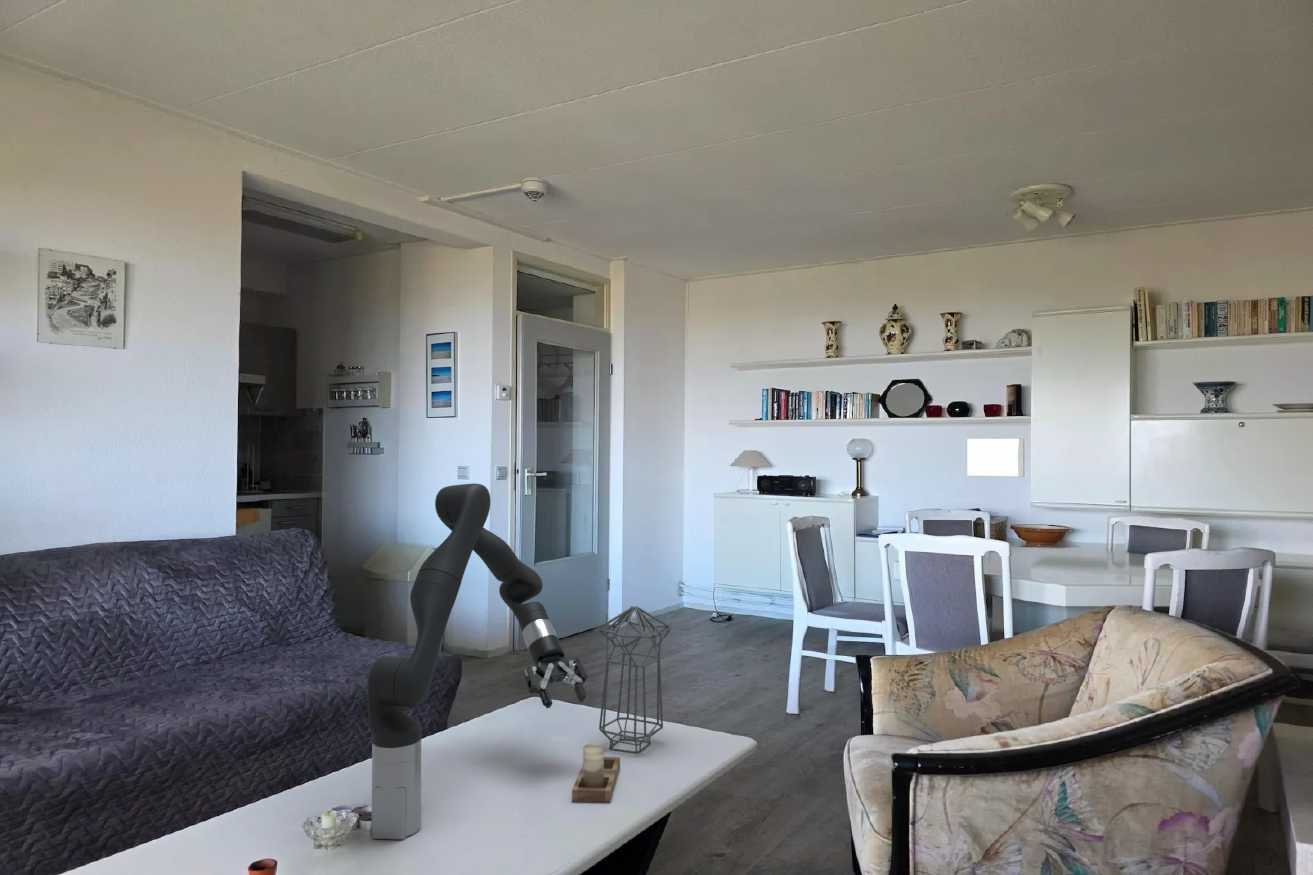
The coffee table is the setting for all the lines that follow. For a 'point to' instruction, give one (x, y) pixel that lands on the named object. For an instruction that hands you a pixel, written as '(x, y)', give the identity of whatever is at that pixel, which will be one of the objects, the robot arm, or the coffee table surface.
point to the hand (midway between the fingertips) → (566, 703)
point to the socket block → (598, 793)
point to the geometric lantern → (642, 623)
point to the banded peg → (593, 766)
